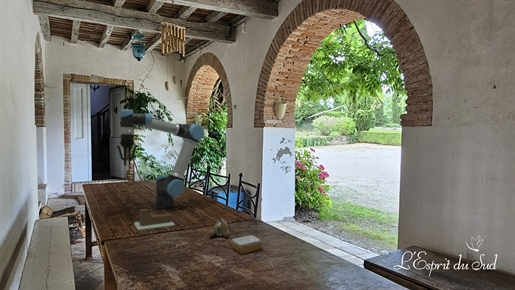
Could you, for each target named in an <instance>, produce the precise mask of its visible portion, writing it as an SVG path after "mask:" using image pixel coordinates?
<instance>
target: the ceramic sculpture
mask: <svg viewBox="0 0 515 290" xmlns="http://www.w3.org/2000/svg"><path fill="white" fill-rule="evenodd" d="M228 228H229V225H228V223H227V222H226V220H224V218H221V219H218V220H216V222H215V224H214V225H213V228H211V229H210V230H209V234H208V235H209V237H214V236H215V235H216V236H217V237H222V236H223V237H228V236H230V235H229V234H230V230H229V229H228Z"/></svg>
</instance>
